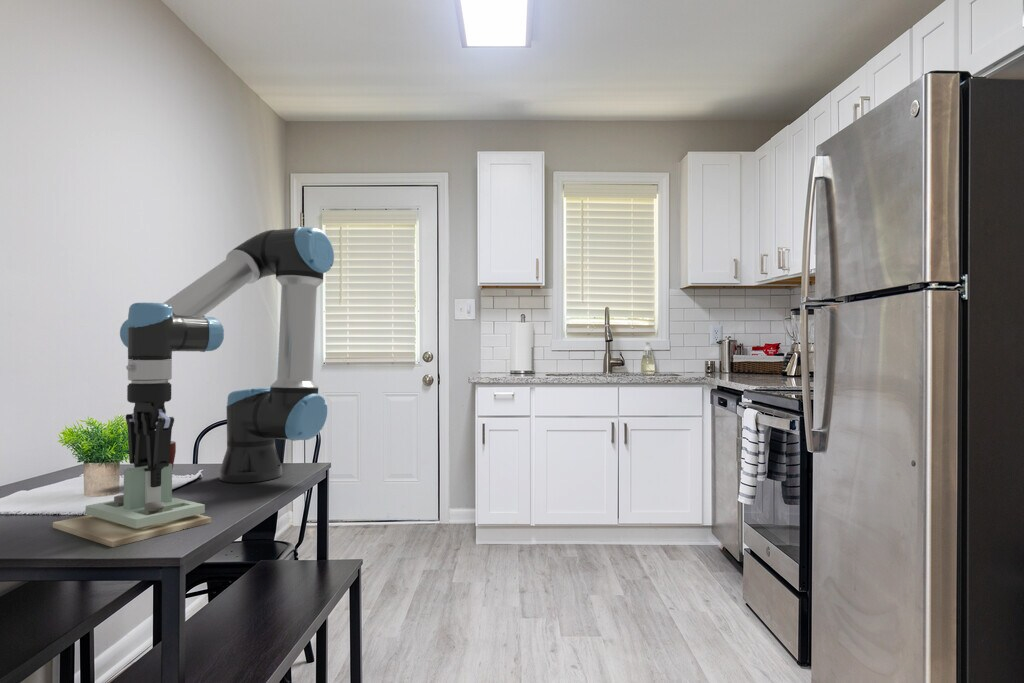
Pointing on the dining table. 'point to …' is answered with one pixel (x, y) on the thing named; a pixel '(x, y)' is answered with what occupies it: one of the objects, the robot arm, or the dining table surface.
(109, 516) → the panel
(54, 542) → the dining table surface
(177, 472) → the dining table surface
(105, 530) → the boss board
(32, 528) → the dining table surface
